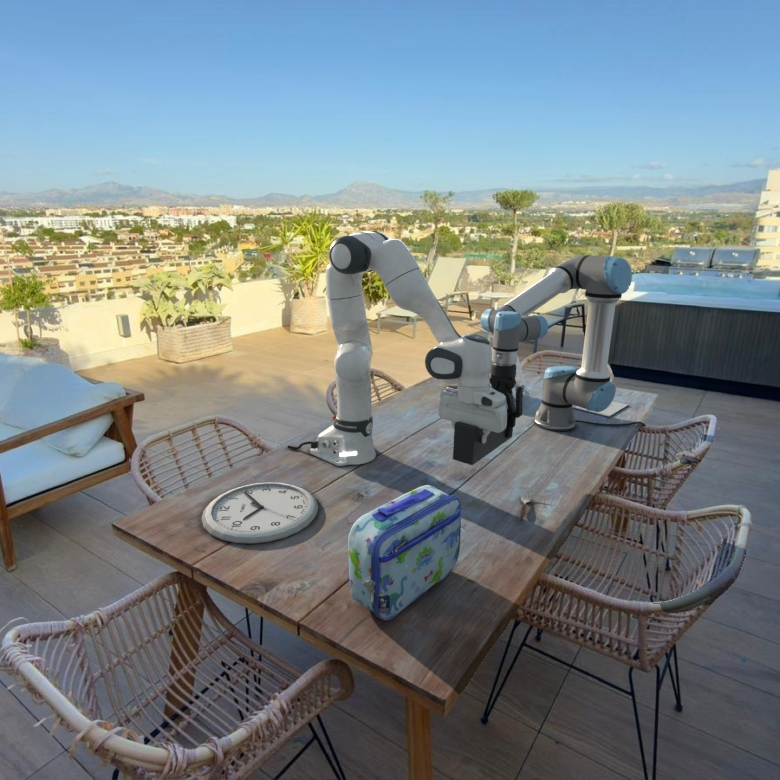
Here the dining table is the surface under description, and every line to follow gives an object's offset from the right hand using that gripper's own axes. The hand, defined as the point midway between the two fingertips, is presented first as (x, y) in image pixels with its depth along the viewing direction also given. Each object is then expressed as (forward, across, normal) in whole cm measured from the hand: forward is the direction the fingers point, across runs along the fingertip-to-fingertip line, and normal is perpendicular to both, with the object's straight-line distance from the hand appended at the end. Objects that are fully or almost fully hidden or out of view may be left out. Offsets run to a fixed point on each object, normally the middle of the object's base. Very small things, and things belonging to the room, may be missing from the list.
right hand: (498, 433), depth 166 cm
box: (+2, 0, -10) cm, 10 cm away
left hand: (-4, 0, -19) cm, 20 cm away
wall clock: (+11, -36, -66) cm, 76 cm away
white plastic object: (+11, -41, +67) cm, 79 cm away
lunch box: (+11, +12, -68) cm, 70 cm away
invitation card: (+11, +10, +82) cm, 84 cm away
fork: (+11, +18, -20) cm, 30 cm away
